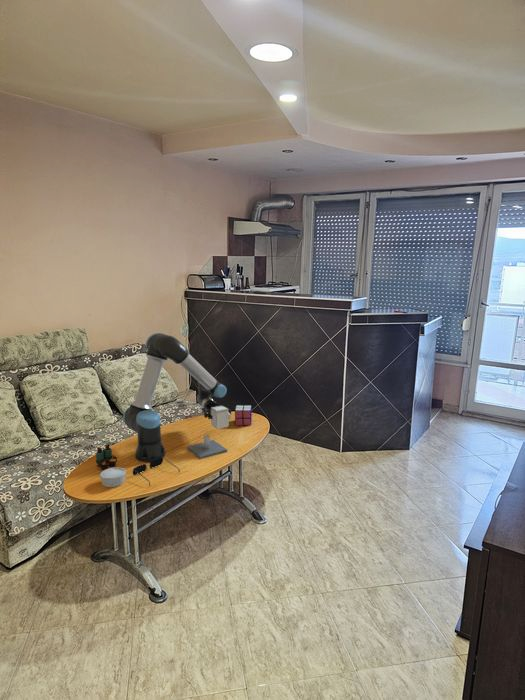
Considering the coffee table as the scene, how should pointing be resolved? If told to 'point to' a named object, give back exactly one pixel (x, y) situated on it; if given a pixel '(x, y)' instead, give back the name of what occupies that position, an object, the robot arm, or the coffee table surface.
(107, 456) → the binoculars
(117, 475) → the ramekin
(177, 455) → the coffee table surface
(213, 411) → the white rectangular box
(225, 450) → the post dock
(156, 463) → the sunglasses
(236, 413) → the puzzle cube
